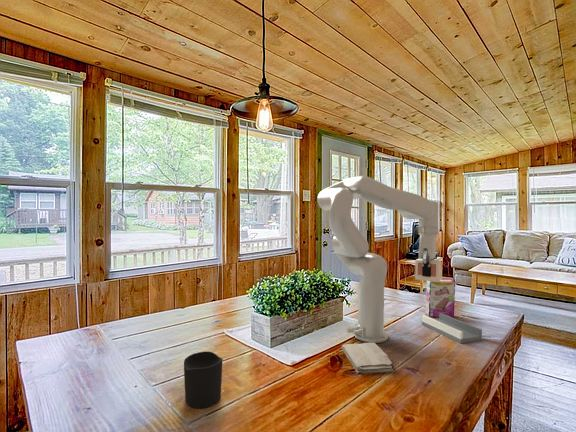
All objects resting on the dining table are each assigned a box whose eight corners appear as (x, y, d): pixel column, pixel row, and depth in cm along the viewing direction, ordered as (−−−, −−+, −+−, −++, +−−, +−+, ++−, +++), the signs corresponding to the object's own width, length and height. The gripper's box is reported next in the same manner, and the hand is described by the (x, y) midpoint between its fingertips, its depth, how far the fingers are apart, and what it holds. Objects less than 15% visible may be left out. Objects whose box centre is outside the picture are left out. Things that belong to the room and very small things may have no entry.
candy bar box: (429, 317, 147) (429, 281, 146) (425, 313, 152) (426, 278, 151) (455, 318, 146) (455, 281, 145) (450, 314, 151) (451, 279, 150)
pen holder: (224, 388, 87) (225, 351, 87) (218, 409, 78) (218, 368, 77) (189, 388, 87) (189, 351, 87) (178, 410, 77) (179, 368, 77)
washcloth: (357, 376, 95) (357, 365, 95) (340, 350, 113) (340, 341, 113) (396, 374, 97) (396, 363, 96) (372, 348, 114) (373, 339, 114)
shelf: (421, 324, 137) (422, 315, 137) (440, 322, 140) (441, 313, 140) (460, 343, 118) (460, 332, 118) (481, 340, 121) (481, 329, 121)
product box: (415, 279, 135) (415, 260, 134) (418, 277, 139) (418, 258, 138) (438, 282, 129) (438, 262, 129) (441, 279, 133) (441, 260, 133)
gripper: (423, 229, 143) (423, 271, 143) (413, 232, 129) (413, 277, 129) (442, 230, 138) (441, 272, 139) (433, 232, 124) (433, 280, 125)
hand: (428, 274), depth 134 cm, fingers closed on product box, 4 cm apart
